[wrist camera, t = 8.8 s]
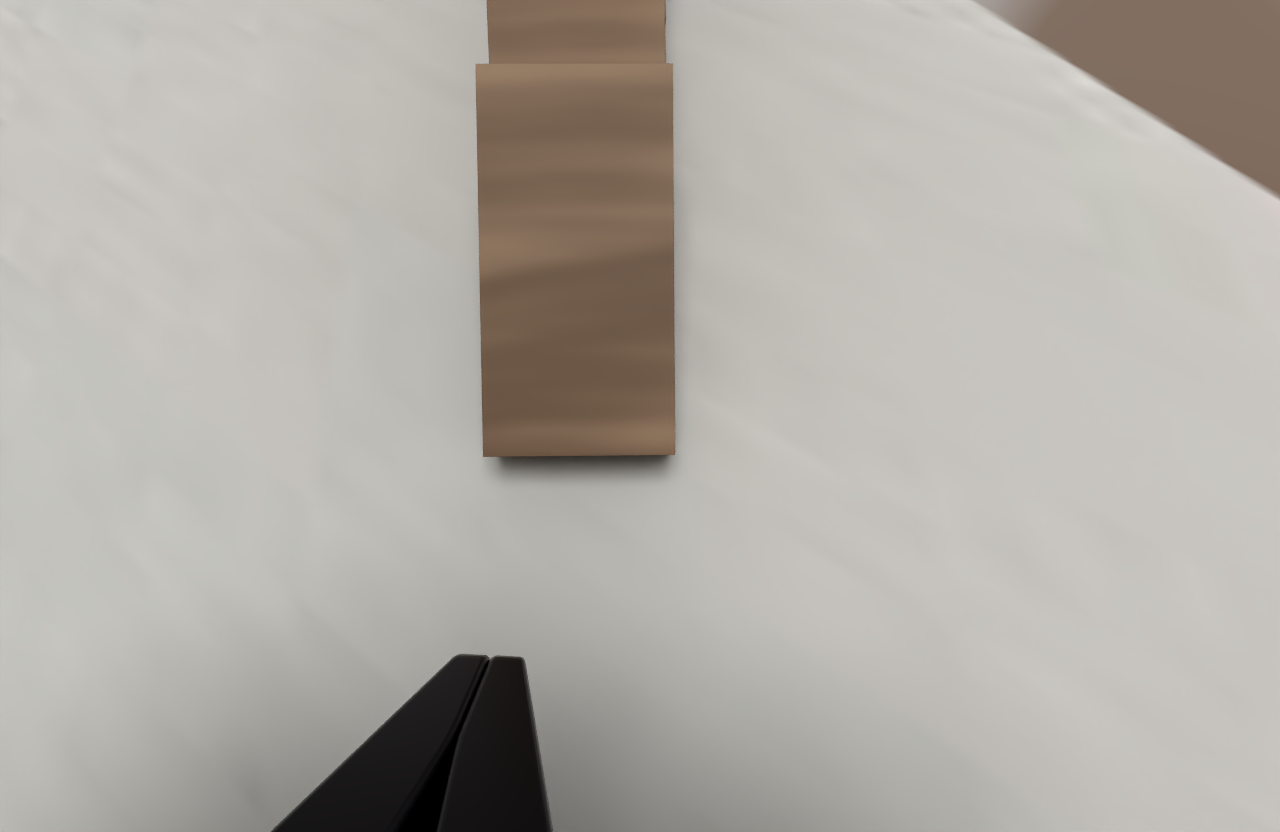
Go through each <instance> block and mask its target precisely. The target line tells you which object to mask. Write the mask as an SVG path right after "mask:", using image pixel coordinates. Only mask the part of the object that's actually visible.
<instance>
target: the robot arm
mask: <svg viewBox="0 0 1280 832" xmlns="http://www.w3.org/2000/svg"><path fill="white" fill-rule="evenodd" d="M271 832H553V828H552V822H551V816H550V810H549V803H548V797H547V791H546V785H545V779H544V773H543V767H542V761H541V755H540V749H539V743H538V736H537V730H536V724H535V718H534V712H533V706H532V700H531V694H530V688H529V682H528V676H527V670H526V664H525V660H524V659H523V658H522V657H514V656H494V657H492V658H491V659H490V658H489V657H488V656H486V655H474V654H459V655H456V656H455V657H453V658H452V659H451V660H450V661H449V662H448V663H447V664H446V665H445V666H444V667H443V668H442V669H440V670H439V671H438V672H437V673H436V674H435V675H434V676H433V677H432V678H431V679H430V680H429V681H428V682H427V683H426V684H425V685H424V686H423V687H422V688H421V689H420V690H418V691H417V692H416V693H415V694H414V695H413V696H412V697H411V698H410V699H409V700H408V701H407V702H406V703H405V704H404V705H403V706H402V707H401V708H400V709H399V710H397V711H396V712H395V713H394V714H393V715H392V716H391V717H390V718H389V719H388V720H387V721H386V722H385V723H384V724H383V725H382V726H381V727H380V728H379V729H378V730H377V731H375V732H374V733H373V734H372V735H371V736H370V737H369V738H368V739H367V740H366V741H365V742H364V743H363V744H362V745H361V746H360V747H359V748H358V749H357V750H356V751H355V752H353V753H352V754H351V755H350V756H349V757H348V758H347V759H346V760H345V761H344V762H343V763H342V764H341V765H340V766H339V767H338V768H337V769H336V770H335V771H334V772H333V773H331V774H330V775H329V776H328V777H327V778H326V779H325V780H324V781H323V782H322V783H321V784H320V785H319V786H318V787H317V788H316V789H315V790H314V791H313V792H312V793H311V794H309V795H308V796H307V797H306V798H305V799H304V800H303V801H302V802H301V803H300V804H299V805H298V806H297V807H296V808H295V809H294V810H293V811H292V812H291V813H290V814H289V815H287V816H286V817H285V818H284V819H283V820H282V821H281V822H280V823H279V824H278V825H277V826H276V827H275V828H274V829H273V830H272V831H271Z"/></svg>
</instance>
